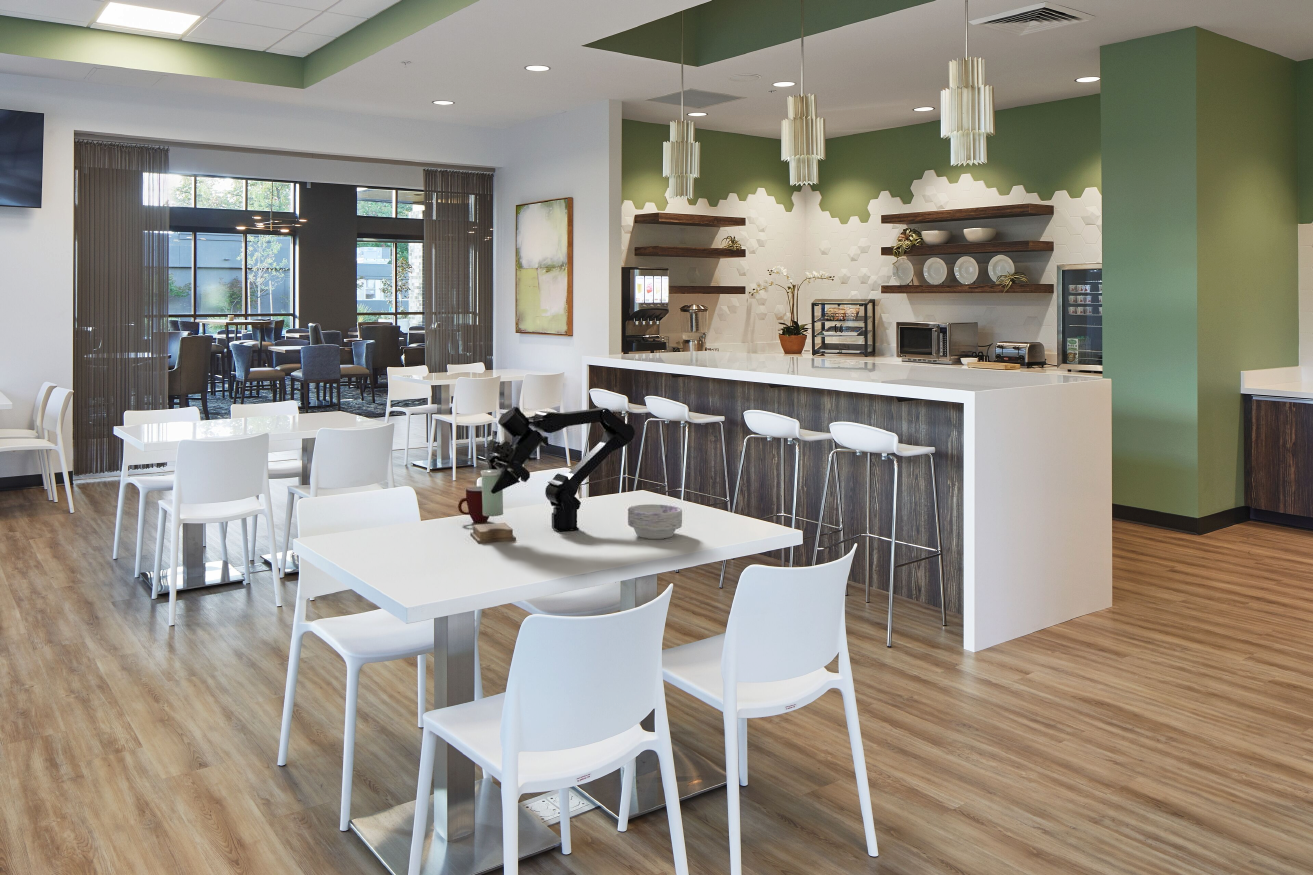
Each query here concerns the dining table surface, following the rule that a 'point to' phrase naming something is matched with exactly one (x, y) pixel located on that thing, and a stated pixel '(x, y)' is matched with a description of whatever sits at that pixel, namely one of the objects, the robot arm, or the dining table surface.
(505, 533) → the pedestal
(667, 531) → the paper bowls
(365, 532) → the dining table surface
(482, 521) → the mug
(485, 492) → the tumbler
